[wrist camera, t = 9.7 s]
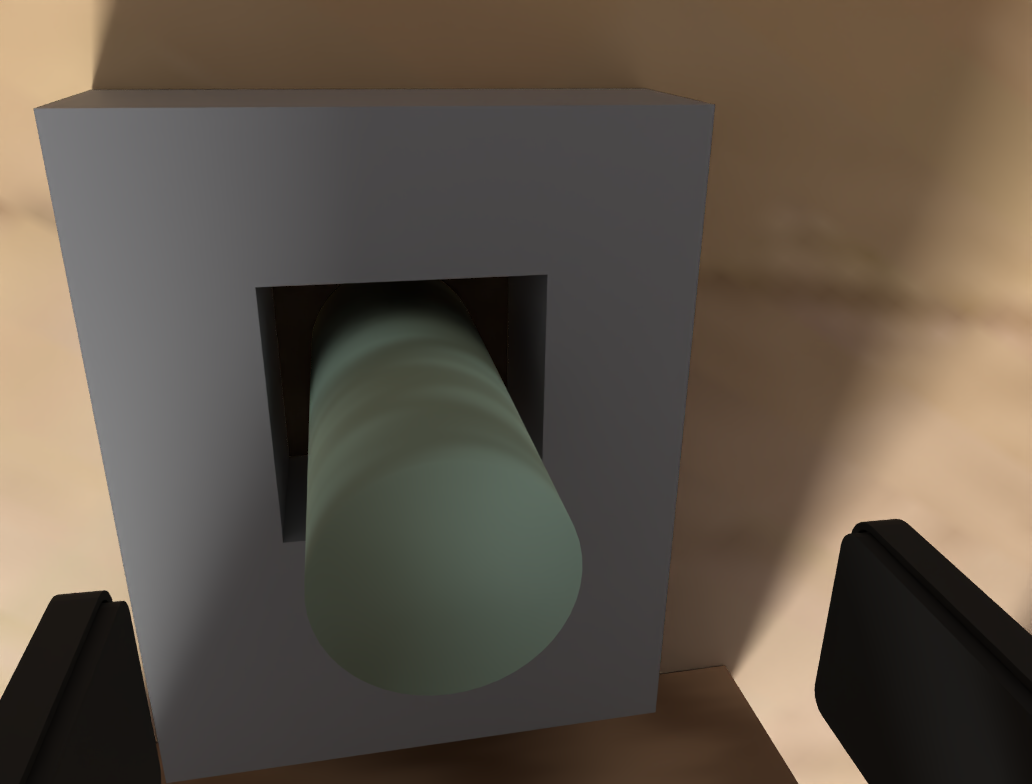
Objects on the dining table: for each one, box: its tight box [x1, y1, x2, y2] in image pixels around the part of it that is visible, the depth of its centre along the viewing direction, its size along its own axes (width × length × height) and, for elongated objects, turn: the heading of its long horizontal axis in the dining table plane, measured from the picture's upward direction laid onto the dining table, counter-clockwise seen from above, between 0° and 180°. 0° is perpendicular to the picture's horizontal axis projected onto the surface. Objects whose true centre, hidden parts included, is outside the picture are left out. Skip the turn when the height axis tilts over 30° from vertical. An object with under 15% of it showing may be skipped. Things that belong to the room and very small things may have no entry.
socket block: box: [34, 89, 715, 783], centre depth 20 cm, size 12×15×4 cm
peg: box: [304, 279, 582, 696], centre depth 17 cm, size 4×4×10 cm
